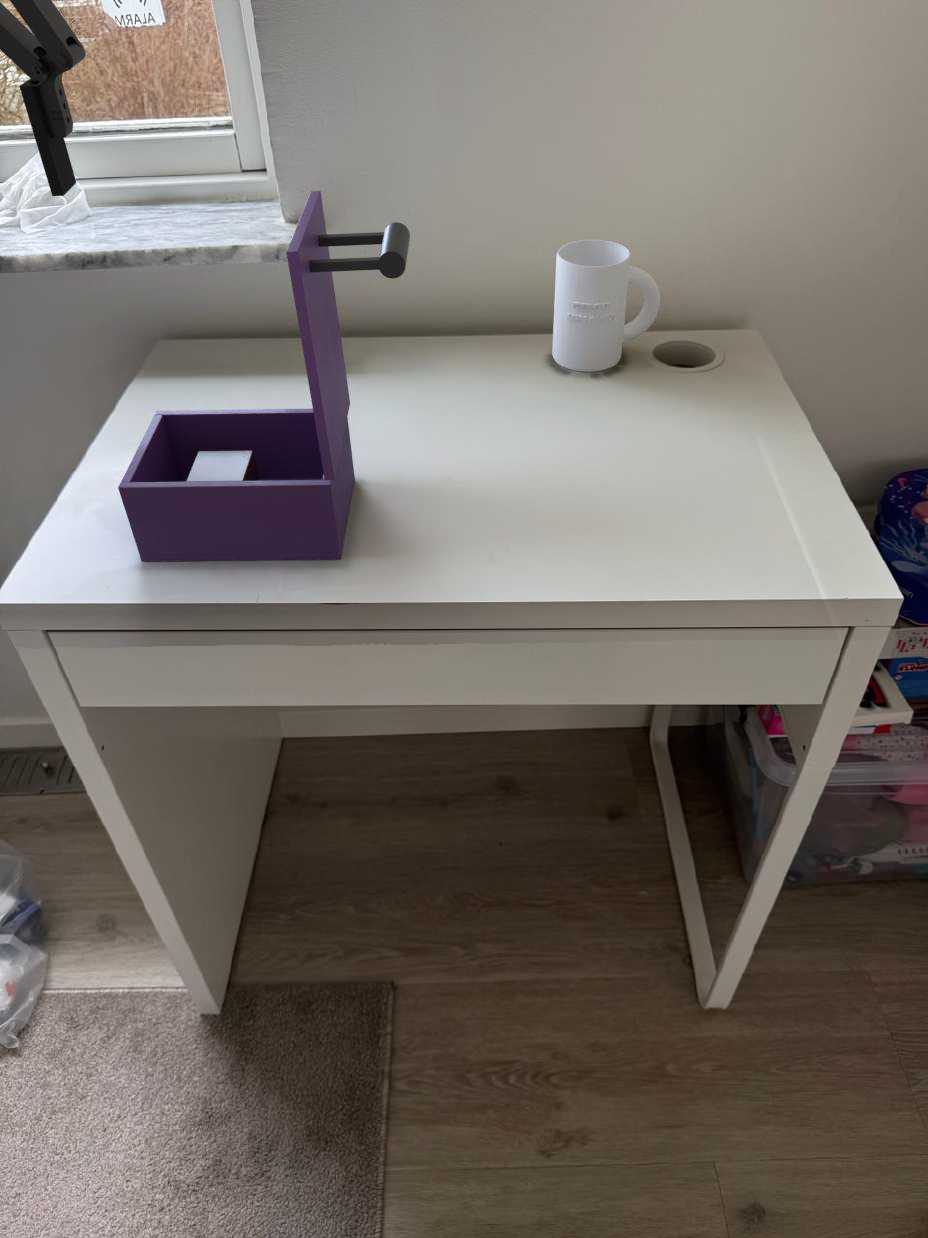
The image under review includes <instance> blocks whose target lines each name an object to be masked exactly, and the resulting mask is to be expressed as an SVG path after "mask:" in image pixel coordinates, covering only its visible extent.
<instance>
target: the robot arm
mask: <svg viewBox="0 0 928 1238" xmlns="http://www.w3.org/2000/svg"><path fill="white" fill-rule="evenodd" d="M9 2H10V3H11V5H12V6H13V7H14V9H15V10H16V12H17V13H18V14H19V16H20V17H21V18H22V19H23V22H24V23H25V25H27V26H25V25H24V24H23V22H21V20H19V19H18V18H17V17H16V16H15V15H14V13H12V12H11V11H10V10H9V8H7V7H6V6H5V5H4V4H3V3H2V2H1V1H0V51H1V52H2V53H3V54H4V55H5V56H6V57H7V58H8V59H10V61H11V62H13V64H15V66H17V67H18V68H19V69H20V70H21V71H22V72H23V74H25V75H26V76H27V77H28V78H29V79H27V80H25V82H23V83H21V84H20V85H19V86H18V87H19V90H20V94H21V97H22V100H23V103H24V104H23V105H24V107H25V110H26V113H27V117H28V120H29V123H30V127H31V130H32V133H33V136H34V141H35V144H36V146H37V150H38V153H39V156H40V160H41V163H42V167H43V170H44V174H45V177H46V180H47V183H48V187H49V190H50V194H51V196H52V197H64V196H65V195H66V194H67V193H68V192H70V190H71V189H72V188H73V187H74V186H75V185H76V184H77V181H76V180H77V179H76V176H75V173H74V169H73V166H72V165H73V164H72V162H71V159H70V154H69V151H68V148H67V143H66V141H65V138H67V137H68V136H69V135H70V134H71V133H73V131H74V121H73V117H72V113H71V109H70V106H69V102H68V98H67V95H66V91H65V88H64V87H65V86H64V83H63V74H64V73H67V72H69V71H71V70H73V68H75V67H76V66H78V65H79V64H80V63H82V62H83V61H84V60H85V58H86V55H87V54H86V49H85V47H84V45H83V44H82V42H81V41H80V39H79V38H78V36H77V35H76V34H75V32H74V31H73V29H72V28H71V27H70V25H69V24H68V22H67V21H66V19H65V18H64V17H63V15H62V13H61V12H60V11H59V9H58V8H57V6H56V5H55V3H54V2H53V0H9ZM27 27H28V28H27Z"/></svg>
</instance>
